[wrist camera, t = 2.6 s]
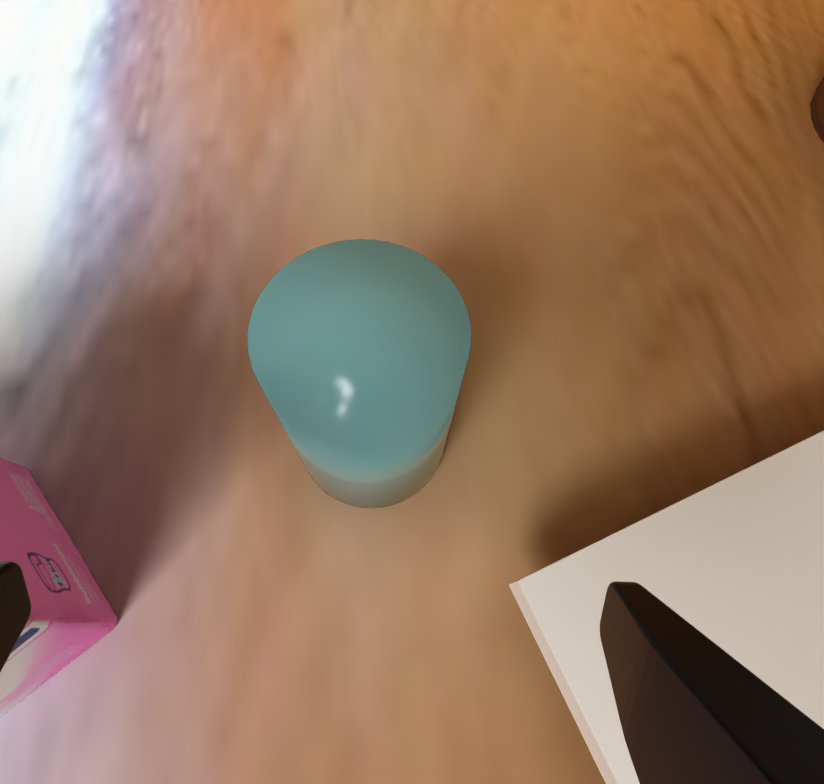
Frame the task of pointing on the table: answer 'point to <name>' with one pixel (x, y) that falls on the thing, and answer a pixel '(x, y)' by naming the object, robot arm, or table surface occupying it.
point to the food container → (818, 110)
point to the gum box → (45, 588)
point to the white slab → (698, 591)
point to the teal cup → (362, 365)
